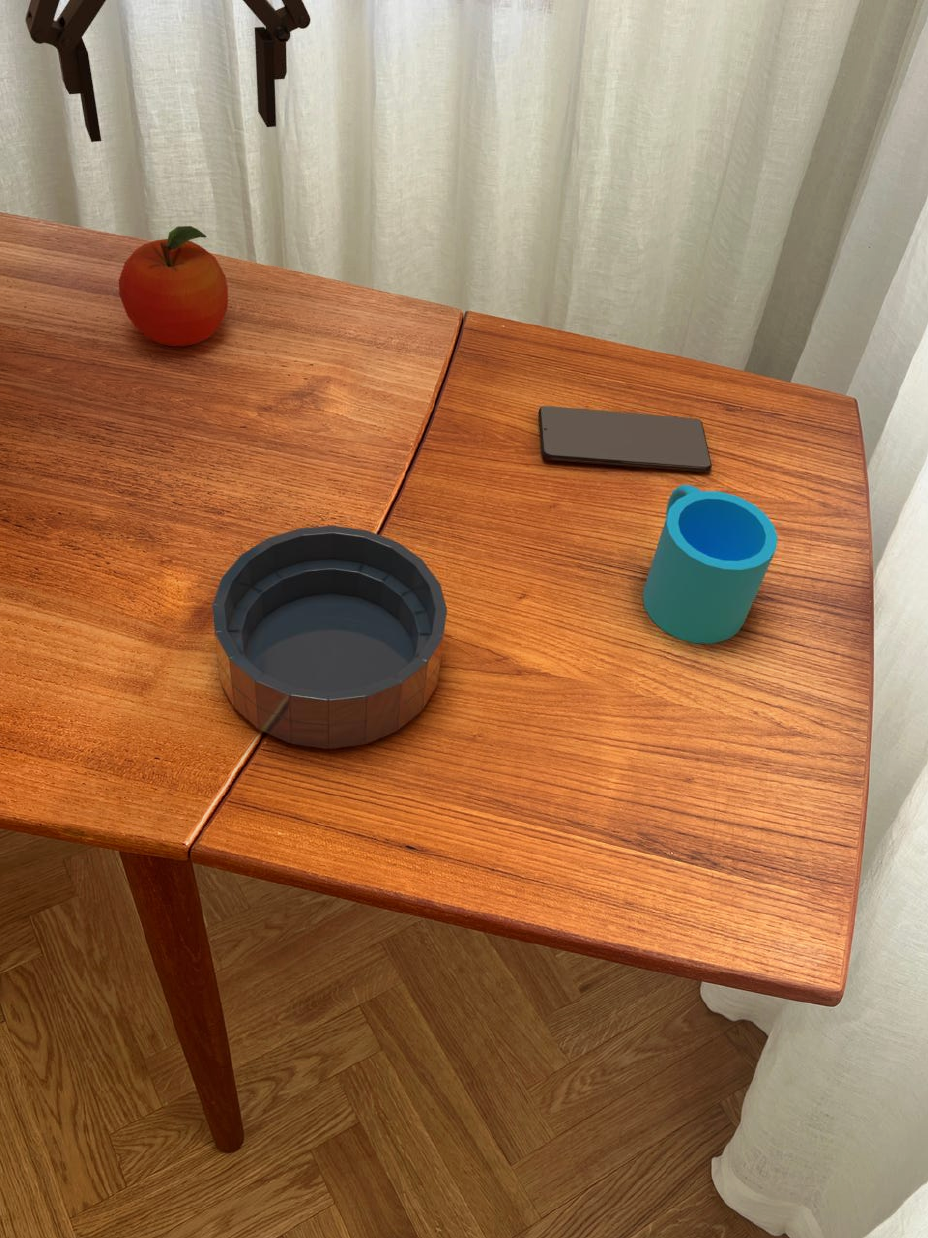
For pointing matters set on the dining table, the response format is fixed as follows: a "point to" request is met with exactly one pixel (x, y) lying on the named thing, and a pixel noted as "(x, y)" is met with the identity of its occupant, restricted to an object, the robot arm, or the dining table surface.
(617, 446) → the smartphone
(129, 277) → the fruit
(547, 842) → the dining table surface
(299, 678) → the bowl
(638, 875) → the dining table surface
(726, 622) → the mug
